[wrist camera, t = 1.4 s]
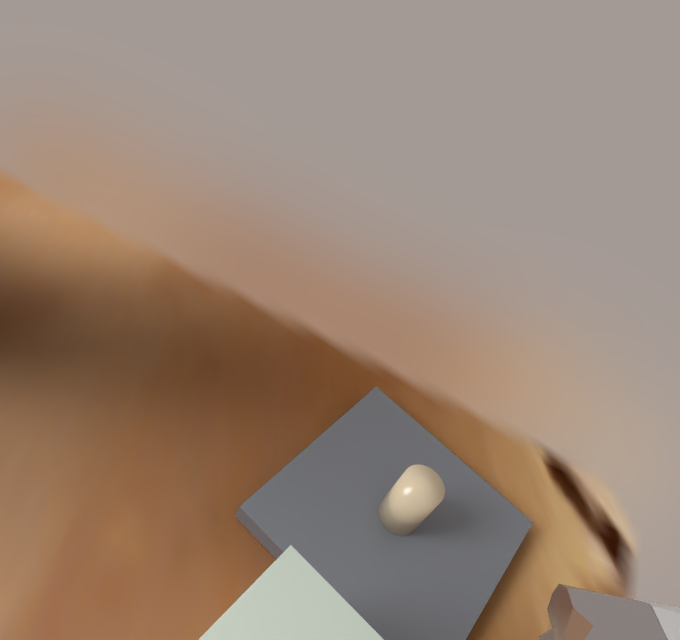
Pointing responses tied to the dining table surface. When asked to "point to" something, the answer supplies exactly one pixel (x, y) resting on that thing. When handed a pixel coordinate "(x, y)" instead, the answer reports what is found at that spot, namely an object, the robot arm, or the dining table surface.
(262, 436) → the dining table surface
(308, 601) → the cover
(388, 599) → the board
